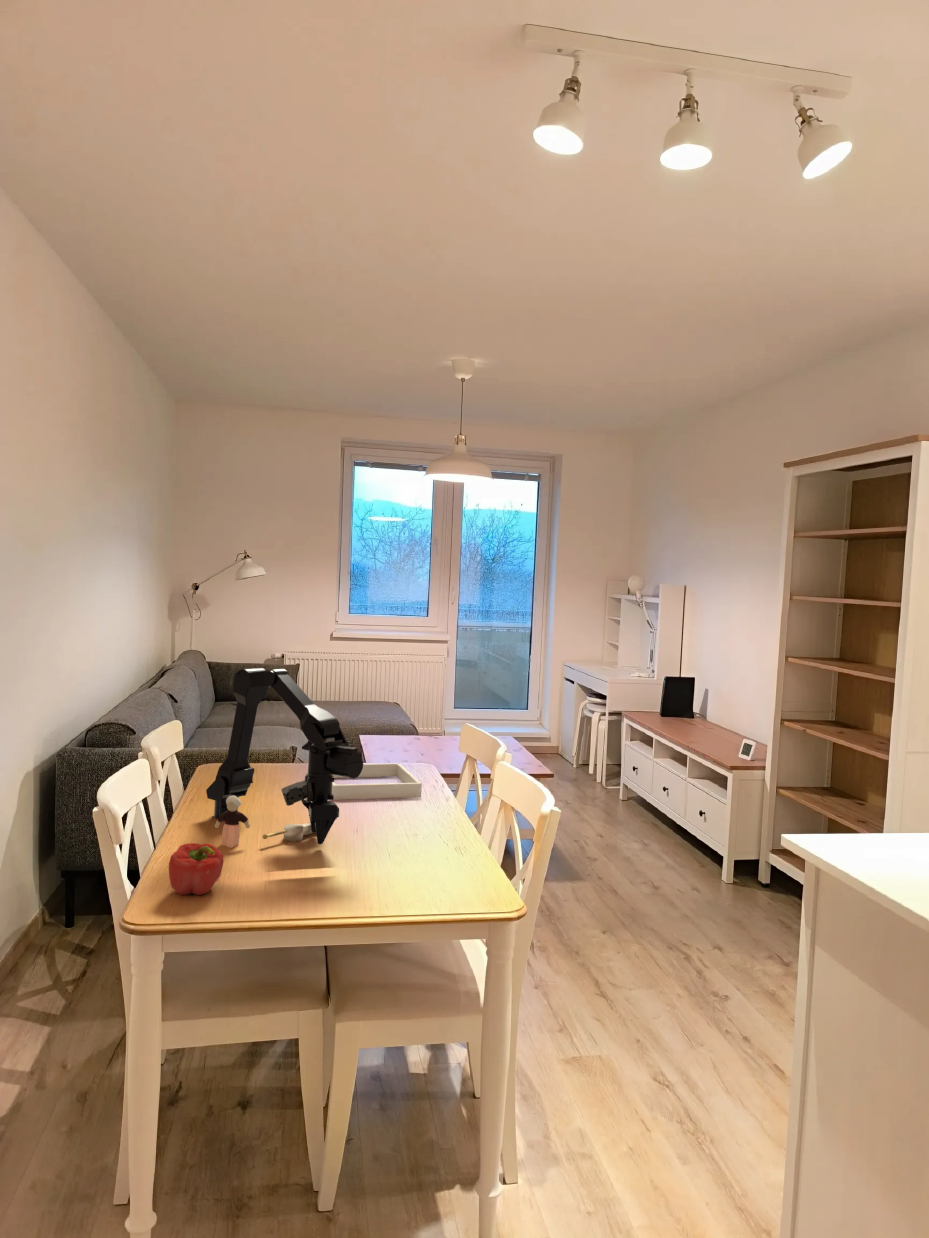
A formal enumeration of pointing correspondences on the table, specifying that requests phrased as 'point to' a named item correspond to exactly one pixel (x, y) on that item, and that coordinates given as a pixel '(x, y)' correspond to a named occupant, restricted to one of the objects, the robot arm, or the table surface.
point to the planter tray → (387, 790)
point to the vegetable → (195, 868)
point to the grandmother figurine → (232, 822)
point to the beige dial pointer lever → (292, 832)
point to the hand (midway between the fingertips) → (317, 838)
